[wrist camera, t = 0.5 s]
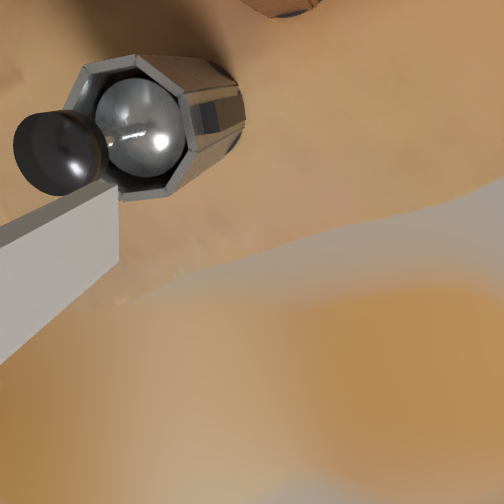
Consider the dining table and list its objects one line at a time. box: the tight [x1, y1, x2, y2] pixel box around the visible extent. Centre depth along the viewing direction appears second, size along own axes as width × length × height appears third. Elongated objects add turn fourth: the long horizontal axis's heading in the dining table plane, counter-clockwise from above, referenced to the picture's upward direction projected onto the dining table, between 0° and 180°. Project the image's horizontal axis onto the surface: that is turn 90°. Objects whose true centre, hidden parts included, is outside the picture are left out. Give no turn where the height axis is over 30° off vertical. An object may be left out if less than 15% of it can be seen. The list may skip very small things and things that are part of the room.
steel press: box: [63, 54, 246, 202], centre depth 35 cm, size 9×10×14 cm
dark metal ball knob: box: [13, 78, 187, 196], centre depth 26 cm, size 7×7×11 cm
